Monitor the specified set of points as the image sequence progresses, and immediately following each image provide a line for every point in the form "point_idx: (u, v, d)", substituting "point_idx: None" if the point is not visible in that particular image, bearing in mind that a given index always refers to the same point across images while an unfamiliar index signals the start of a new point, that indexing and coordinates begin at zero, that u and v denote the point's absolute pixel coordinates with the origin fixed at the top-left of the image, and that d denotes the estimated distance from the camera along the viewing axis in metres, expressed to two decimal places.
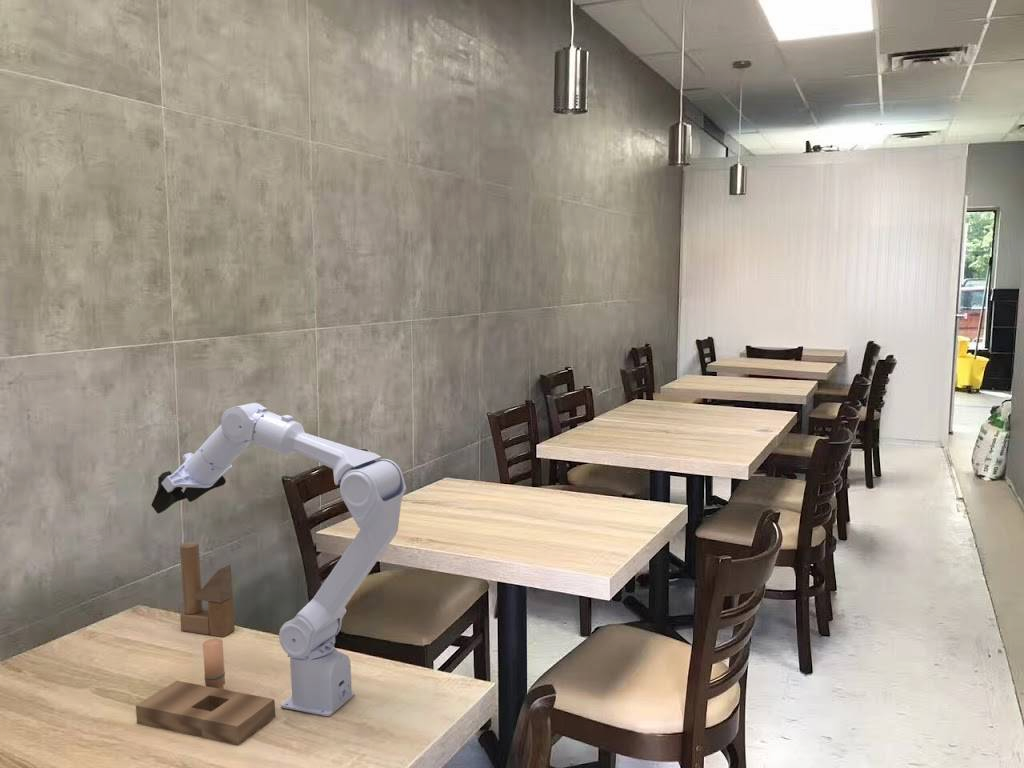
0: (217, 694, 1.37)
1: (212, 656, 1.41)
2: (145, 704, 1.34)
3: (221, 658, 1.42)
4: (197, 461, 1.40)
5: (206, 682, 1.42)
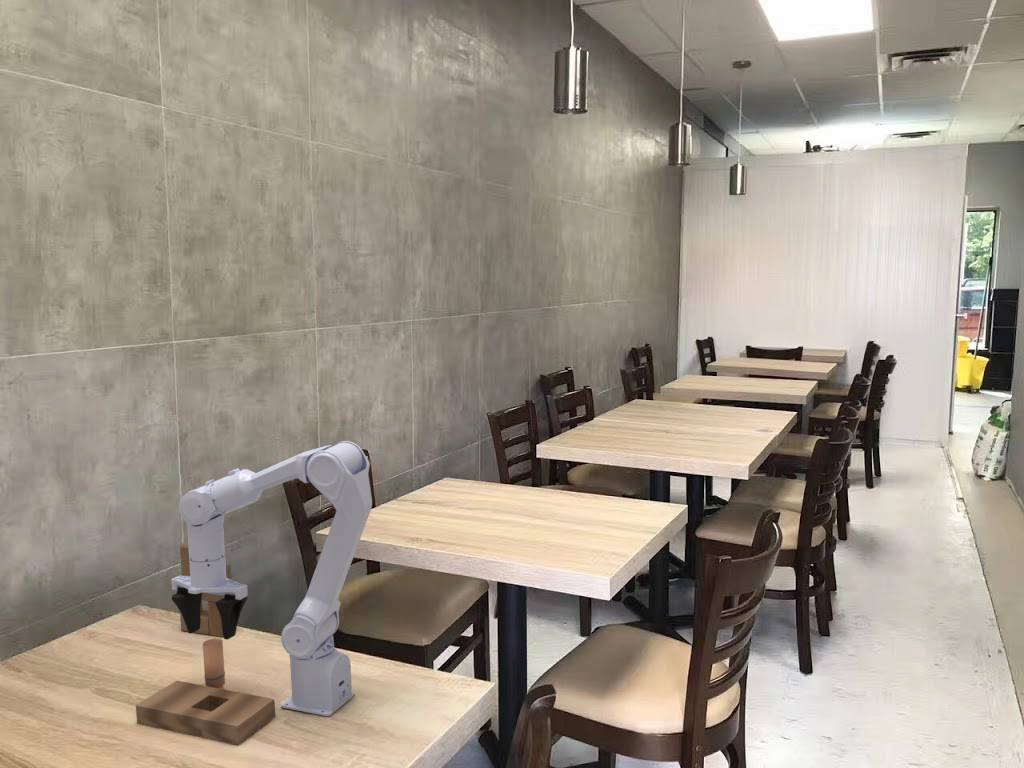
0: (217, 694, 1.37)
1: (212, 656, 1.41)
2: (145, 704, 1.34)
3: (221, 658, 1.42)
4: (218, 568, 1.40)
5: (206, 682, 1.42)
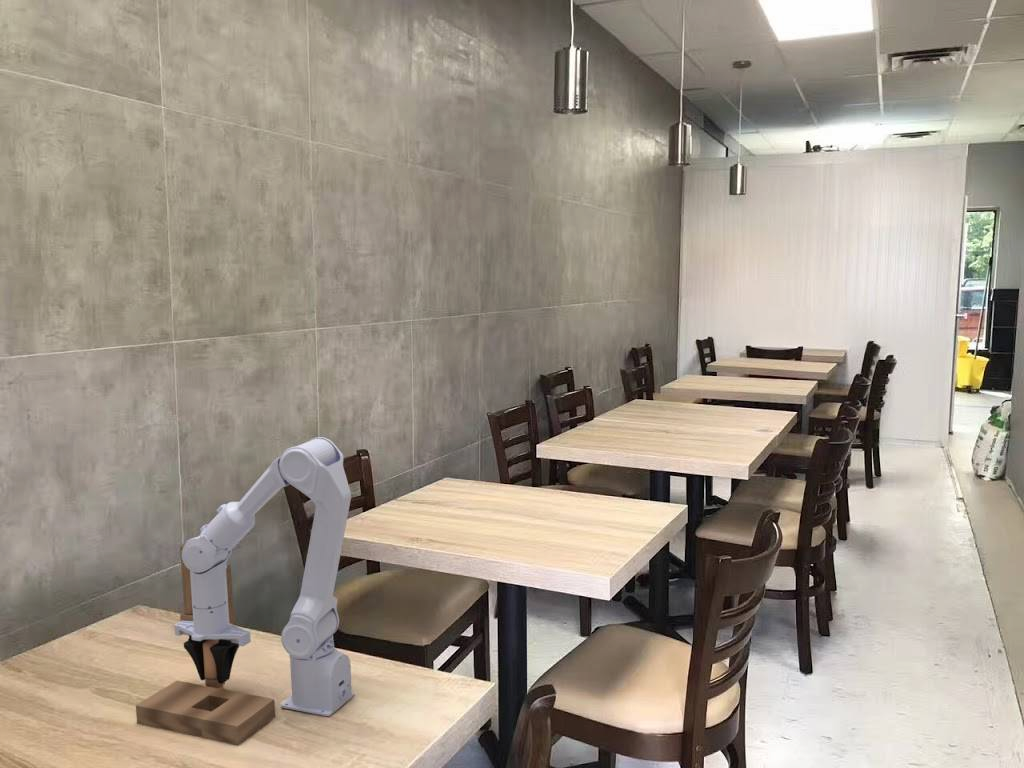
0: (217, 694, 1.37)
1: (212, 656, 1.41)
2: (145, 704, 1.34)
3: None
4: (221, 614, 1.40)
5: (206, 682, 1.42)
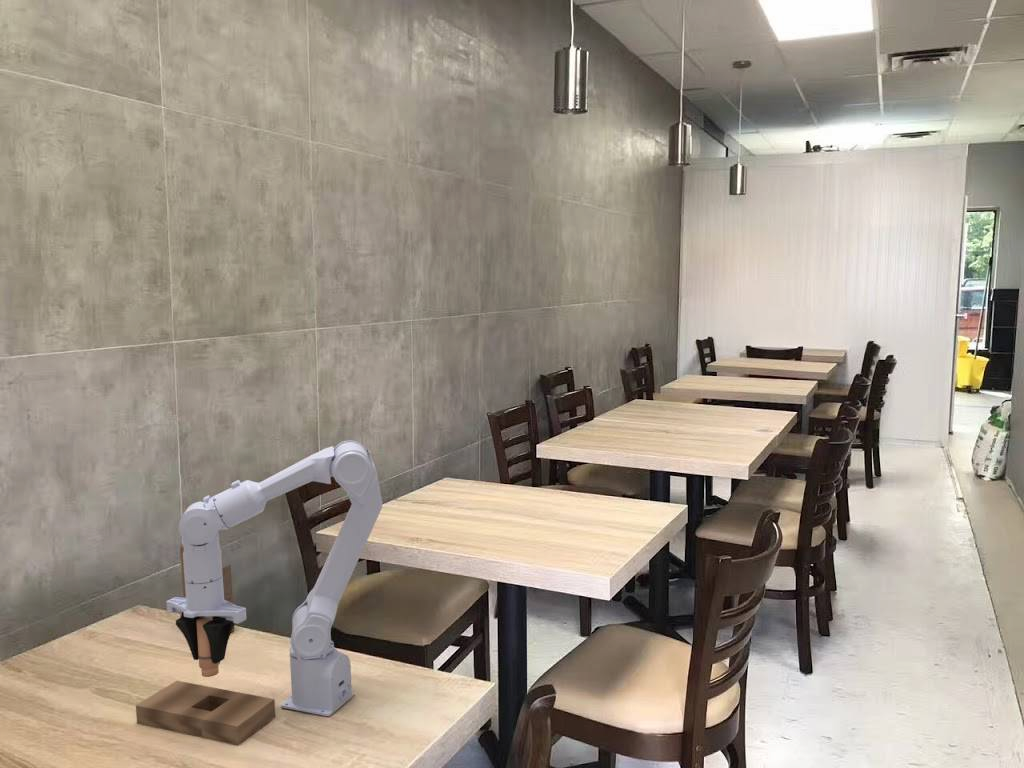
0: (217, 694, 1.37)
1: None
2: (145, 704, 1.34)
3: None
4: (215, 590, 1.32)
5: (200, 662, 1.34)
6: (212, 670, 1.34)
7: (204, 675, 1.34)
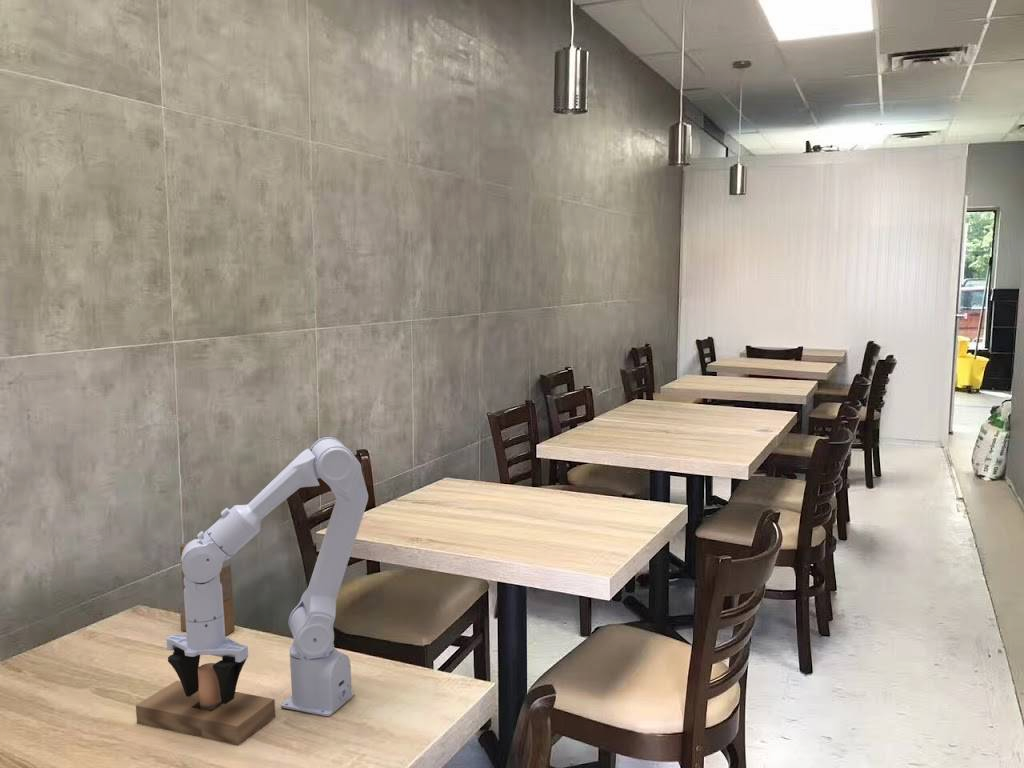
0: None
1: (209, 682, 1.32)
2: (145, 704, 1.34)
3: (218, 684, 1.33)
4: (216, 628, 1.31)
5: None
6: None
7: None
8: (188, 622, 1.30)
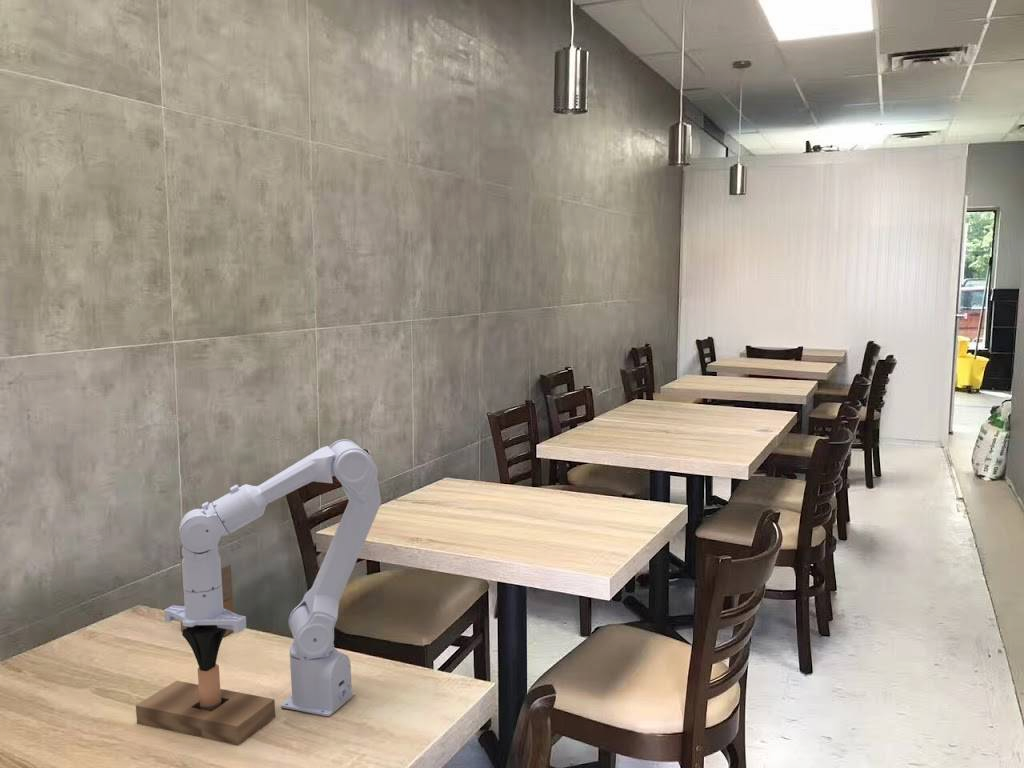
0: None
1: (209, 683, 1.32)
2: (145, 704, 1.34)
3: (218, 684, 1.33)
4: (214, 598, 1.30)
5: None
6: None
7: None
8: (186, 592, 1.29)
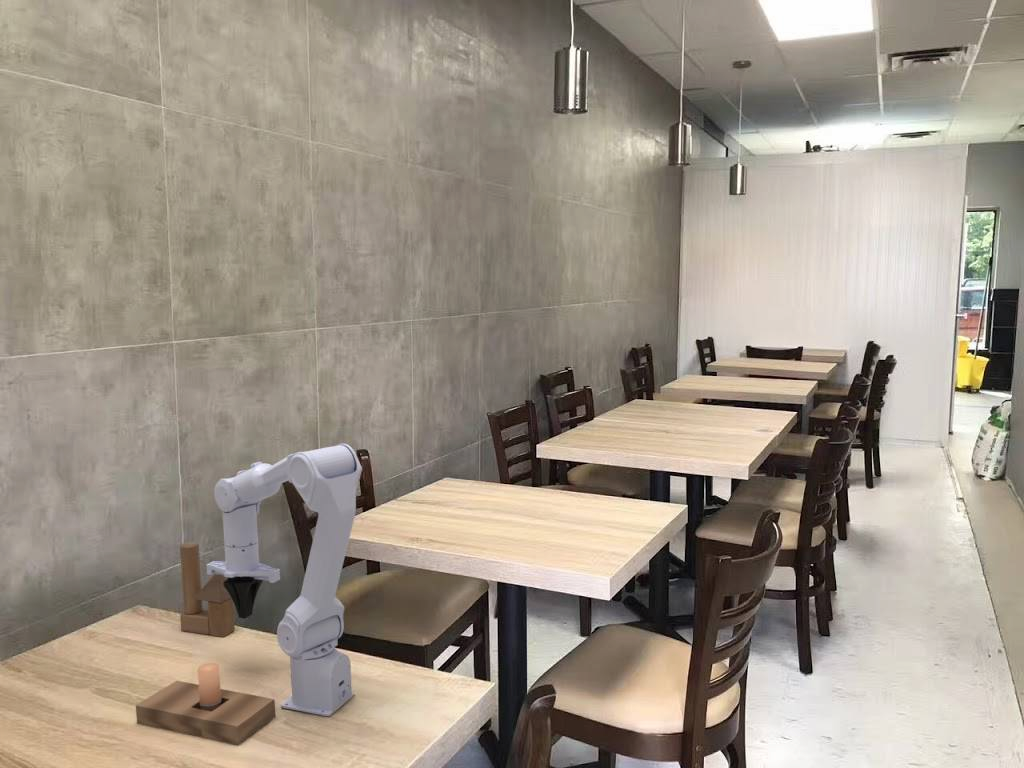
0: None
1: (209, 682, 1.32)
2: (145, 704, 1.34)
3: (218, 684, 1.33)
4: (252, 553, 1.47)
5: None
6: None
7: None
8: (227, 547, 1.47)
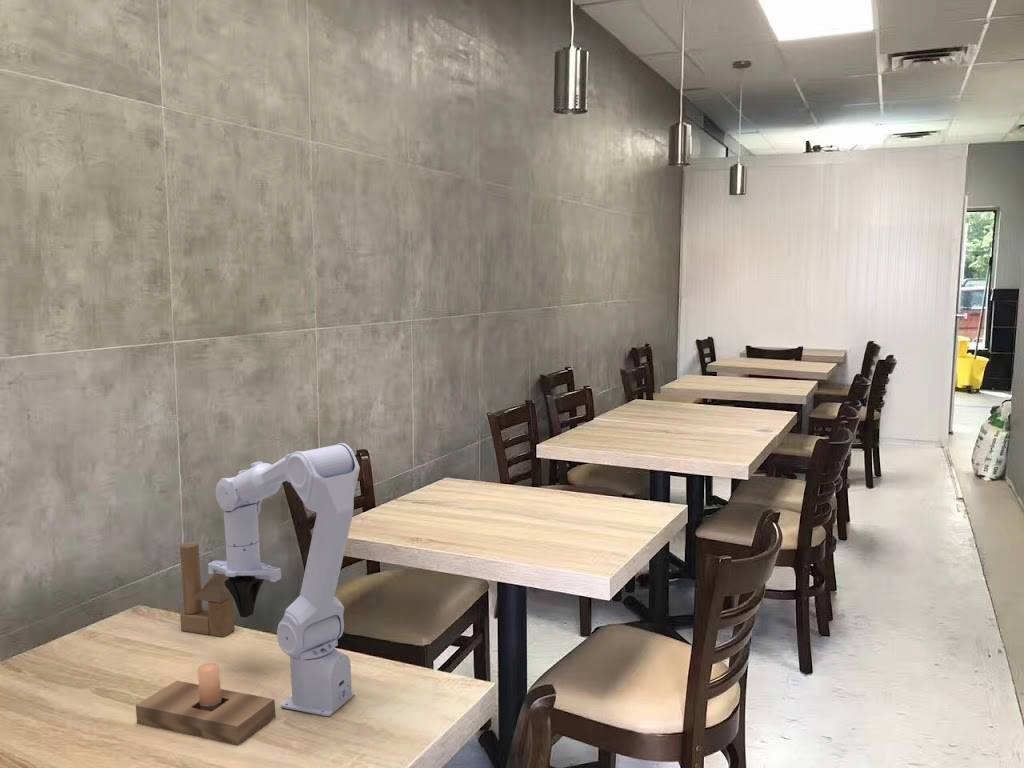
0: None
1: (209, 682, 1.32)
2: (145, 704, 1.34)
3: (218, 684, 1.33)
4: (253, 552, 1.48)
5: None
6: None
7: None
8: (228, 547, 1.47)
